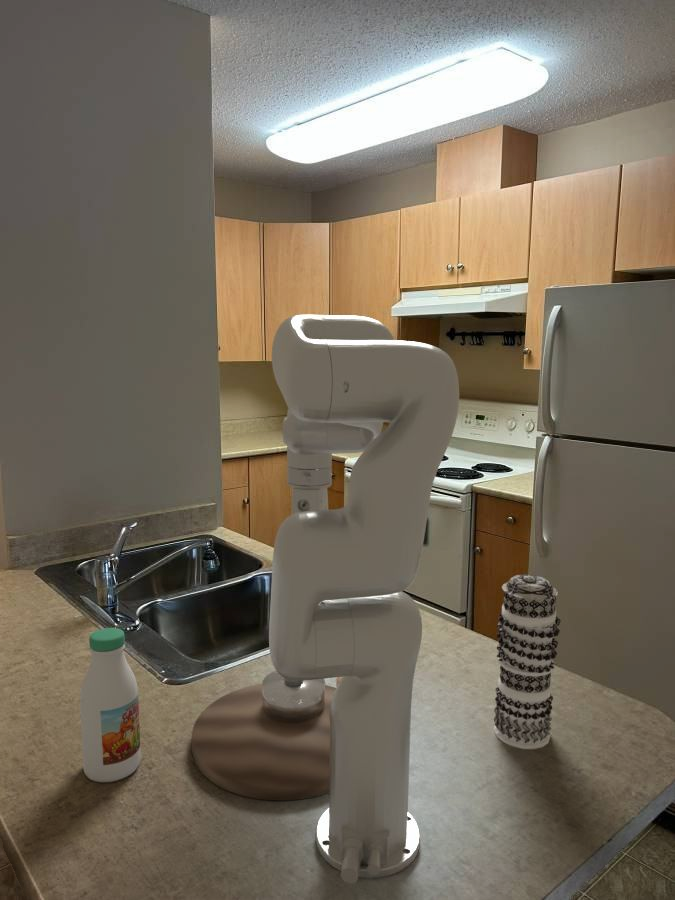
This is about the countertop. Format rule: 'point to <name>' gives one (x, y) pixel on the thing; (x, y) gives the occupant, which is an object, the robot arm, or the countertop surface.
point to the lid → (292, 698)
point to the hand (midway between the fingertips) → (308, 573)
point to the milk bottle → (109, 710)
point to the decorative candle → (526, 662)
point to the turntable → (262, 748)
